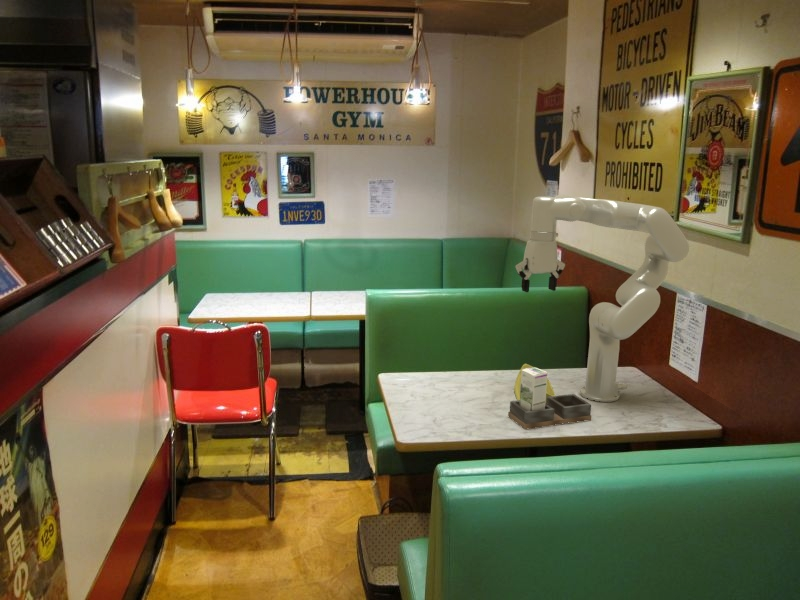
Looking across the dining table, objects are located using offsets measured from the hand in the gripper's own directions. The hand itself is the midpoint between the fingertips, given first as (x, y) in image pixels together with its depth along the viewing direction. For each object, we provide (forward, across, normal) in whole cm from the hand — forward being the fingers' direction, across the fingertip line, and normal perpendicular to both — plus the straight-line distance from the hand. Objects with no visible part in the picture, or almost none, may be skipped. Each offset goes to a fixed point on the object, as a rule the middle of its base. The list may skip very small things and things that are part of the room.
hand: (538, 290), depth 215 cm
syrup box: (+35, +9, +16) cm, 40 cm away
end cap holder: (+36, +3, +16) cm, 40 cm away
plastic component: (+37, -4, -4) cm, 37 cm away
